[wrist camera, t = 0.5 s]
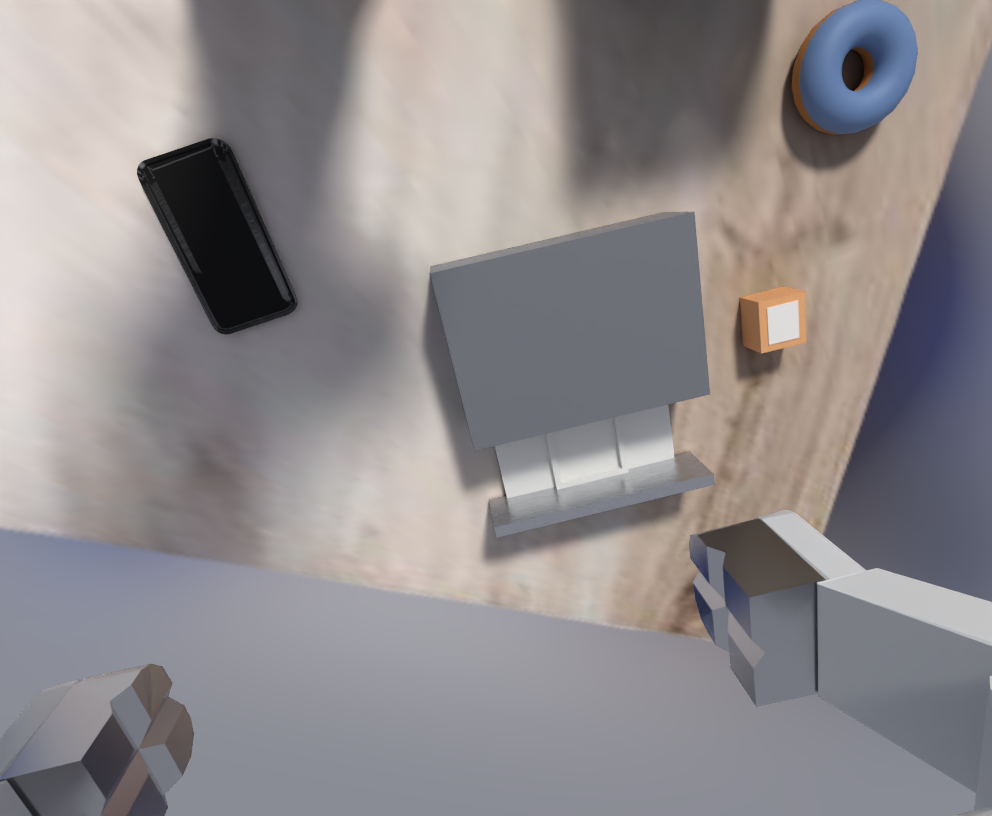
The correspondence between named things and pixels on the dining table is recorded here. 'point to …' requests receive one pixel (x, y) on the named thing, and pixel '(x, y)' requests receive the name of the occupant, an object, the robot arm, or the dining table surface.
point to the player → (575, 327)
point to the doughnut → (885, 57)
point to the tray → (592, 471)
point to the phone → (218, 235)
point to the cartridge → (773, 319)
